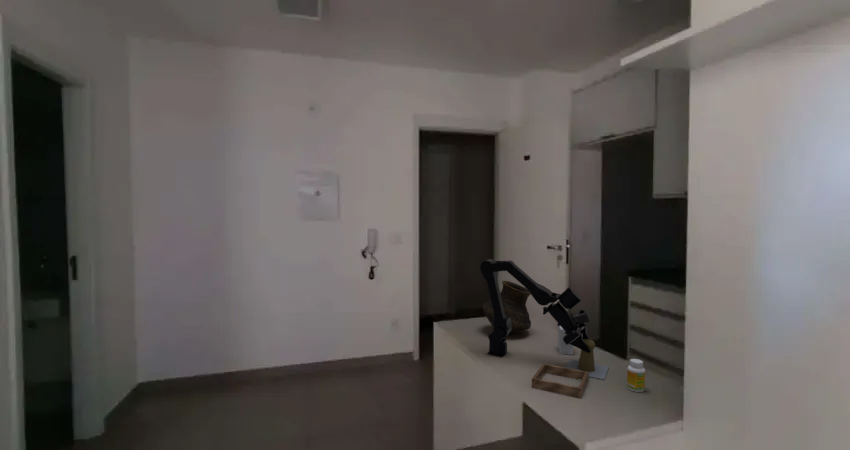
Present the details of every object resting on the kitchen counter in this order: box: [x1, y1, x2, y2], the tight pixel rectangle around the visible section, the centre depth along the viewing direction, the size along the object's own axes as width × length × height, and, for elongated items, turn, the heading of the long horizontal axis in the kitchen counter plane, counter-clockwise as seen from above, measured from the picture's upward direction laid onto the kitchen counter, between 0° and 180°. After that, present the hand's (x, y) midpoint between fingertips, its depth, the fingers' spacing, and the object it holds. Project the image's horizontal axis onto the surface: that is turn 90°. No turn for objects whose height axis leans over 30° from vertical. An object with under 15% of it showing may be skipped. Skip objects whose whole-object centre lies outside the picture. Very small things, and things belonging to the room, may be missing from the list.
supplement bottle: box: [626, 358, 646, 393], centre depth 144 cm, size 5×5×10 cm
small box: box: [557, 325, 575, 355], centre depth 180 cm, size 8×6×10 cm
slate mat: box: [565, 359, 610, 381], centre depth 160 cm, size 14×14×1 cm
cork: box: [578, 338, 596, 372], centre depth 160 cm, size 6×6×11 cm
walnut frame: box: [531, 363, 590, 399], centre depth 147 cm, size 16×16×3 cm
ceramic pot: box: [482, 280, 532, 334], centre depth 205 cm, size 24×24×22 cm
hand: (591, 349), depth 159 cm, fingers open, 6 cm apart
